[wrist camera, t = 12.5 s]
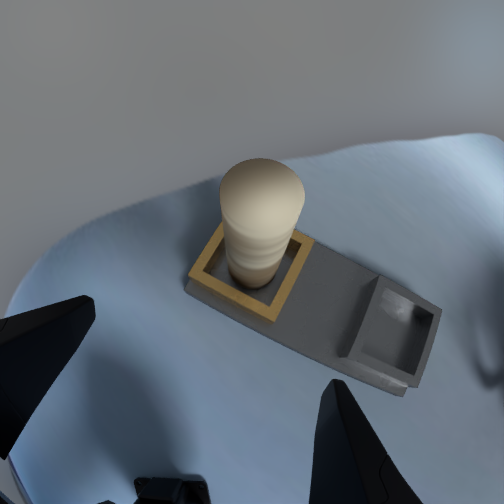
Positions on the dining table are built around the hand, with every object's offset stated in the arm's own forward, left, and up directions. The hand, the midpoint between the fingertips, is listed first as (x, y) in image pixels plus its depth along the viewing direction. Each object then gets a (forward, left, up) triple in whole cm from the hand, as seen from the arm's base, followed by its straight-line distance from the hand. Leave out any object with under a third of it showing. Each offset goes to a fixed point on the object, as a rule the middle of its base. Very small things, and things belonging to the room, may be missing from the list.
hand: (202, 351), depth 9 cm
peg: (+7, -3, -12) cm, 15 cm away
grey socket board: (+3, -8, -14) cm, 16 cm away
